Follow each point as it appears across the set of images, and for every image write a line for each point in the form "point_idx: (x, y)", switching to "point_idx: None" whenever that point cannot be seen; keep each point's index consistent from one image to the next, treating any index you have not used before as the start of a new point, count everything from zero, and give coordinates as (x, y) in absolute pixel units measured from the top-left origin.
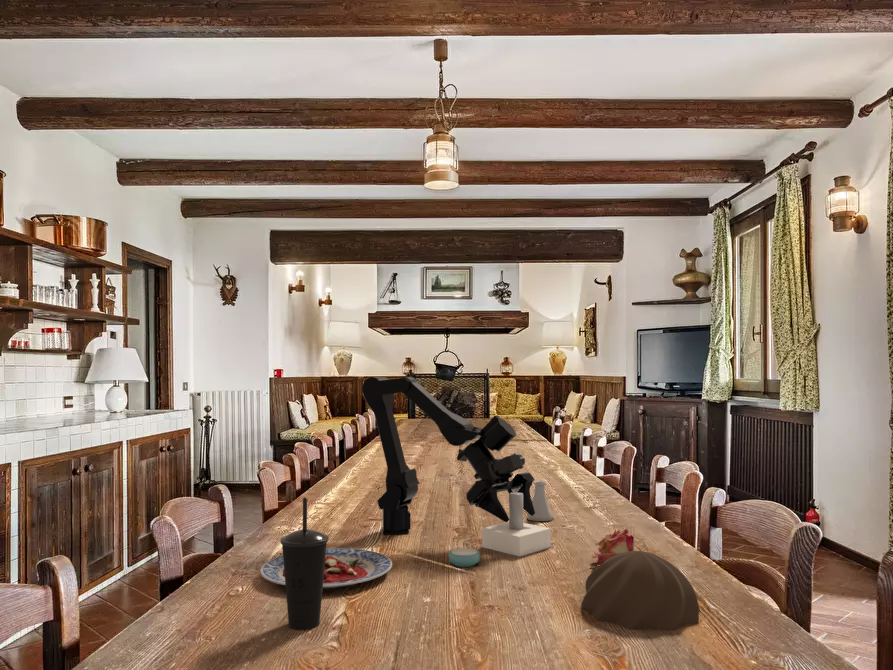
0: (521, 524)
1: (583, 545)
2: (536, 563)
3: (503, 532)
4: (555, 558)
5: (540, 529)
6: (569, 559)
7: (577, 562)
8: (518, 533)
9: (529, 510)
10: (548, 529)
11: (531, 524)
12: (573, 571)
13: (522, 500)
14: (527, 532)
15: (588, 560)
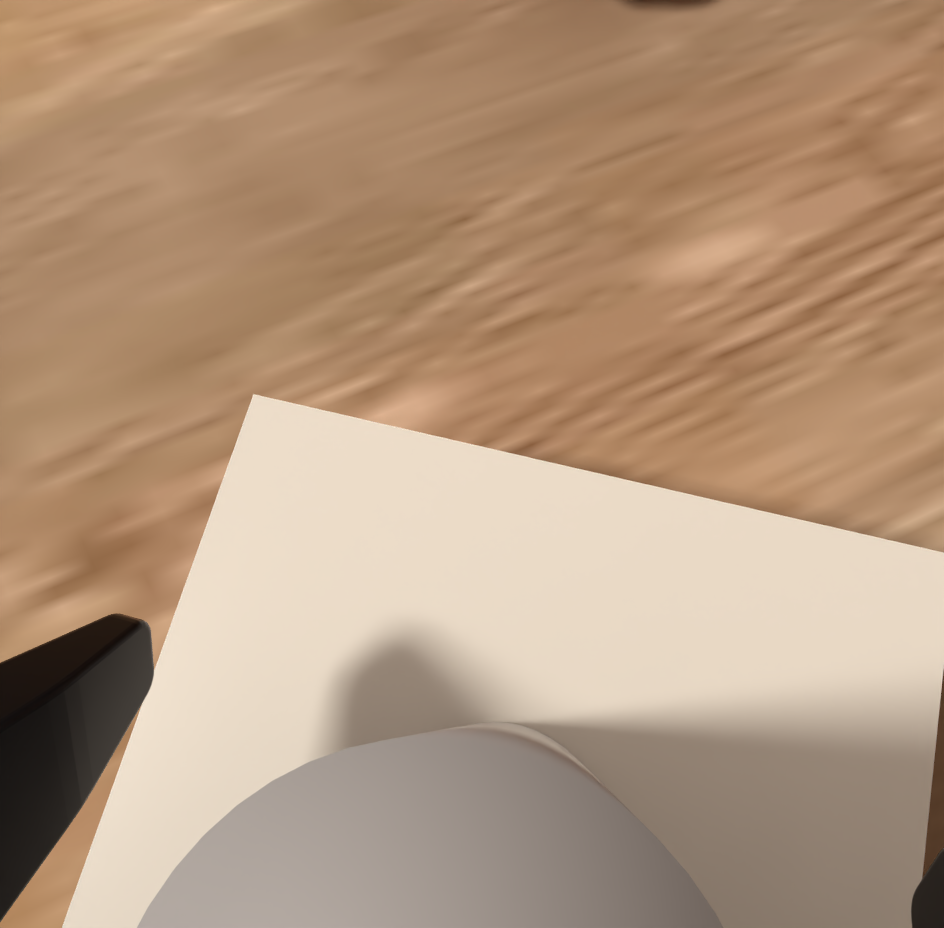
0: (530, 729)
1: (61, 268)
2: (887, 385)
3: (878, 917)
4: (621, 308)
5: (382, 483)
6: (581, 200)
7: (631, 118)
8: (788, 658)
9: (82, 742)
10: (302, 407)
11: (137, 732)
12: (896, 54)
13: (463, 730)
14: (651, 567)
15: (523, 73)
